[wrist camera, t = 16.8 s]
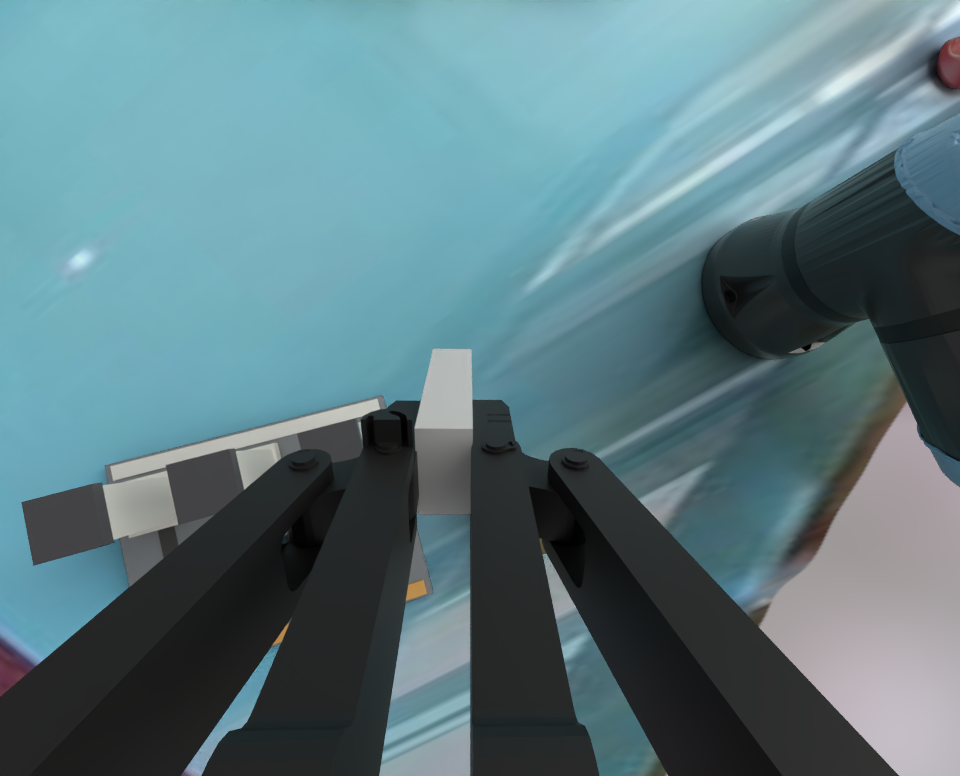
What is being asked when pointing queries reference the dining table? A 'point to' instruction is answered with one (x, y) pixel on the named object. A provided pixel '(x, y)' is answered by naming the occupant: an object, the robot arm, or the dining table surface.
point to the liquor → (950, 63)
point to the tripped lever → (335, 440)
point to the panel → (158, 544)
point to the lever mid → (216, 479)
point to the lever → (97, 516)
